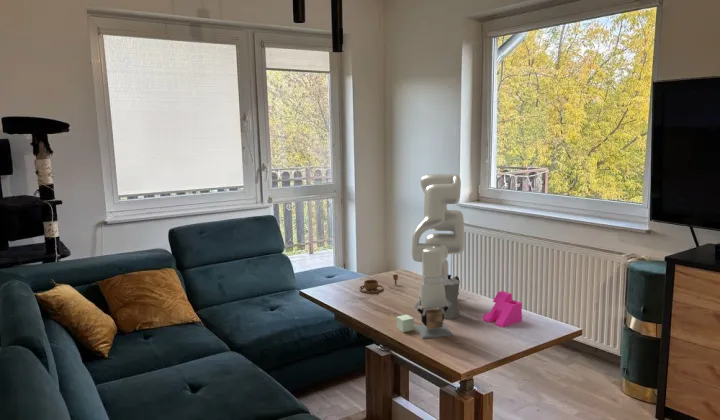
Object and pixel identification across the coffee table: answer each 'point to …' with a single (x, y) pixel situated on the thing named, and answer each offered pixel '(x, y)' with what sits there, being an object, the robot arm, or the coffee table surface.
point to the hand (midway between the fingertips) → (432, 323)
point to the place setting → (375, 285)
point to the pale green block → (405, 323)
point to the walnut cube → (433, 318)
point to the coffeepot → (452, 296)
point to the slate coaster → (432, 331)
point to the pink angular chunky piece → (504, 310)
